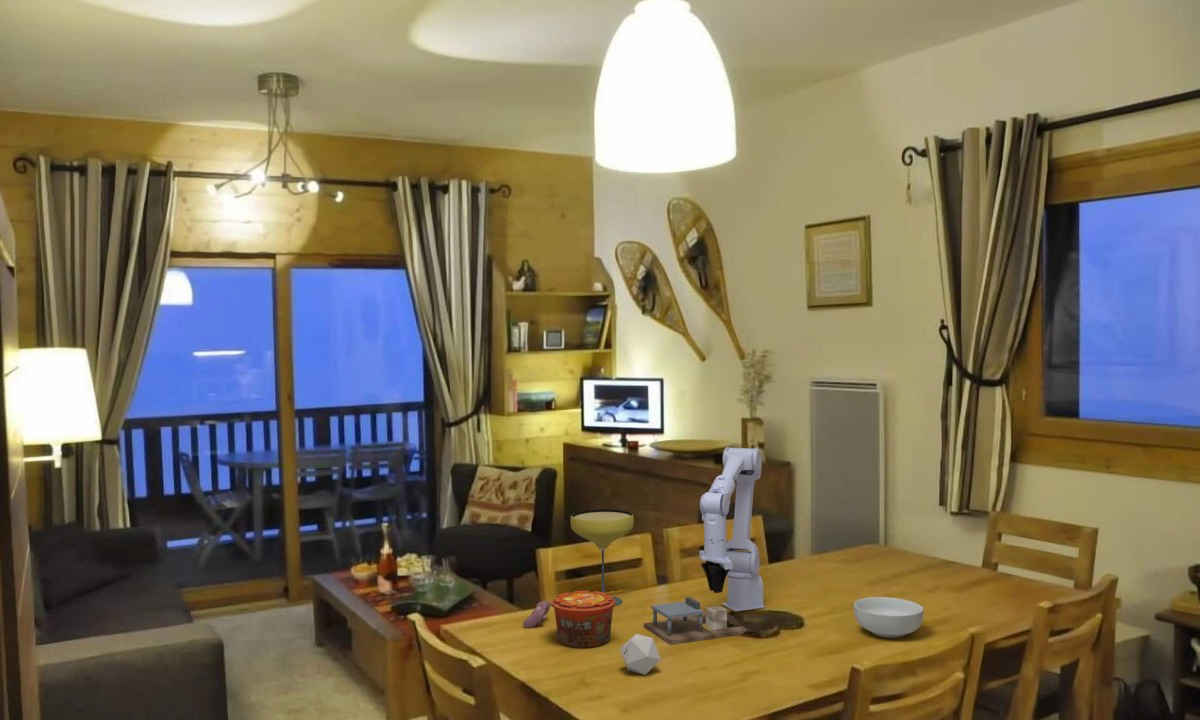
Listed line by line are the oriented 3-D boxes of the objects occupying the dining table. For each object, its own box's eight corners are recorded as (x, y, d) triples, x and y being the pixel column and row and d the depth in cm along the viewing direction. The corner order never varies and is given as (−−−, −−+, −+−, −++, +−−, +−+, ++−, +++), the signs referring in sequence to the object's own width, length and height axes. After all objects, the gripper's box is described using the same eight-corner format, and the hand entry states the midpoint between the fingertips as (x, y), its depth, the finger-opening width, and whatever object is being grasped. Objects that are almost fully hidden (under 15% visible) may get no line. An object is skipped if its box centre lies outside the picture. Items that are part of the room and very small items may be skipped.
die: (627, 665, 227) (609, 639, 222) (659, 646, 227) (642, 619, 223) (638, 689, 220) (620, 662, 215) (671, 669, 220) (654, 642, 216)
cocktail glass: (561, 607, 274) (560, 518, 273) (586, 591, 291) (585, 507, 290) (621, 613, 267) (620, 522, 266) (644, 596, 284) (642, 510, 283)
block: (719, 624, 256) (719, 605, 255) (727, 628, 252) (726, 609, 252) (706, 626, 254) (705, 607, 254) (713, 630, 250) (713, 611, 250)
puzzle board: (725, 616, 263) (725, 612, 263) (755, 632, 248) (755, 628, 248) (643, 627, 254) (643, 623, 254) (670, 644, 239) (670, 640, 239)
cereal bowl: (887, 647, 235) (886, 618, 234) (840, 629, 249) (839, 602, 249) (938, 636, 242) (938, 608, 242) (890, 620, 257) (889, 593, 257)
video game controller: (536, 635, 254) (547, 611, 254) (520, 626, 255) (532, 603, 254) (545, 623, 264) (556, 601, 263) (530, 615, 265) (541, 593, 264)
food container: (594, 654, 233) (593, 610, 233) (539, 644, 242) (538, 601, 241) (628, 636, 247) (627, 594, 246) (575, 627, 255) (574, 586, 255)
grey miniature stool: (686, 619, 255) (686, 595, 255) (704, 629, 246) (703, 604, 246) (651, 624, 252) (651, 599, 252) (668, 634, 243) (667, 609, 242)
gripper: (688, 535, 258) (689, 586, 258) (714, 545, 244) (715, 599, 245) (712, 532, 260) (713, 583, 261) (739, 543, 247) (740, 596, 247)
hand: (716, 591), depth 253 cm, fingers closed
